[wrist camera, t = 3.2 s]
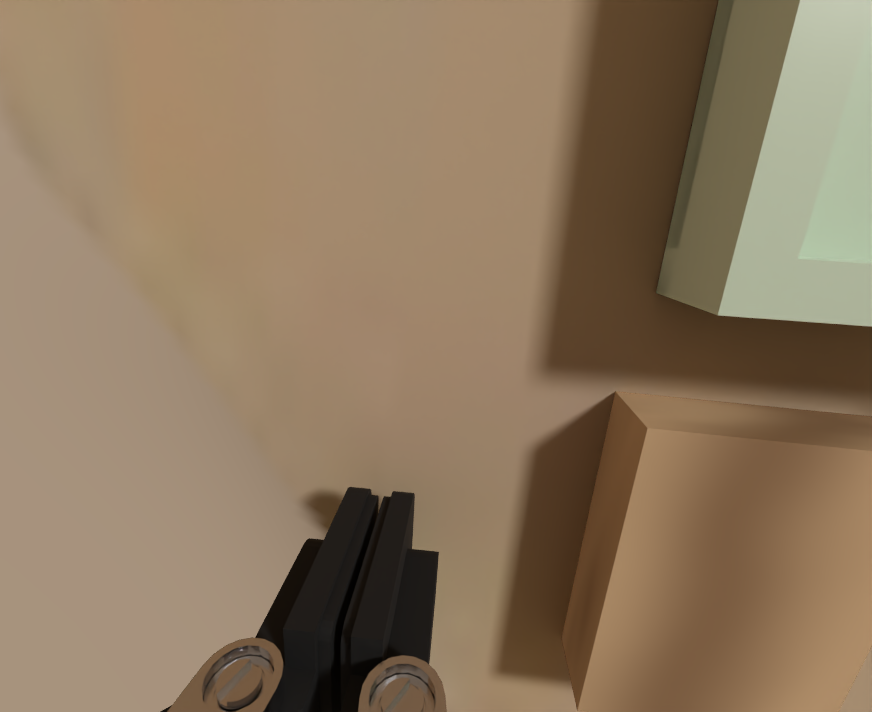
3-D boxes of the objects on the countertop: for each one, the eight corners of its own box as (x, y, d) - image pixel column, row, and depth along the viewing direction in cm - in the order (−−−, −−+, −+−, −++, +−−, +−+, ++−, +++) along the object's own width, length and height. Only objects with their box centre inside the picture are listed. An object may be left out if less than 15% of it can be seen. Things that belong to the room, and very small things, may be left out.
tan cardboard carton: (857, 409, 10) (965, 460, 8) (759, 652, 13) (822, 744, 11) (610, 385, 11) (647, 428, 8) (558, 626, 13) (577, 710, 11)
